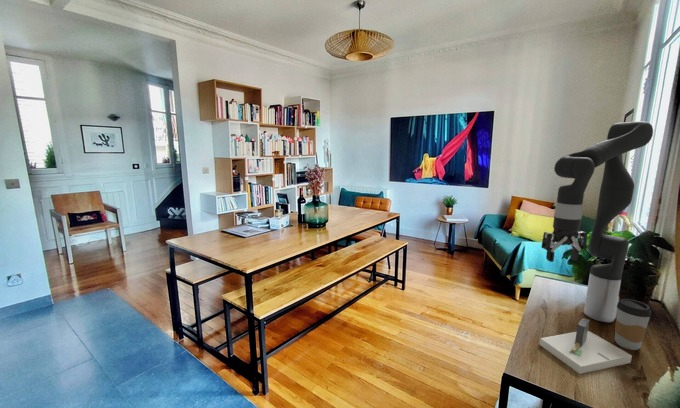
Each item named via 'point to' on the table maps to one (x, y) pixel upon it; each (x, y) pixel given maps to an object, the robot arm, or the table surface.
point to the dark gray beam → (581, 334)
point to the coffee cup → (631, 323)
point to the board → (585, 352)
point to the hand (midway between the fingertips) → (561, 260)
